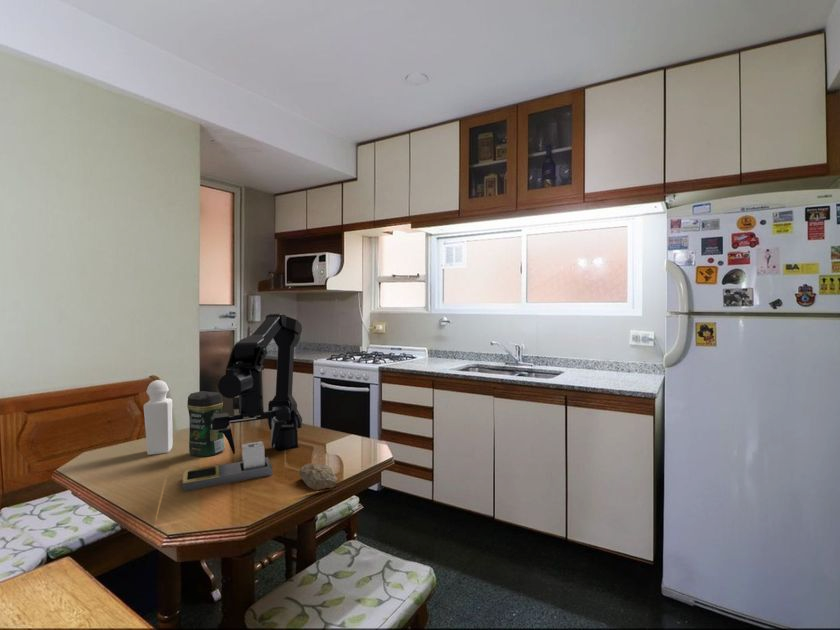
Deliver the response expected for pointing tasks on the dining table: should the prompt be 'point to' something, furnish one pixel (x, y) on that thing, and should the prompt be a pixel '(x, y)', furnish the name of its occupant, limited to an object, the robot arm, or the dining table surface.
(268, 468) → the grey socket board
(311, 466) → the rock
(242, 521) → the dining table surface
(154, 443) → the white bottle
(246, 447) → the square slider block
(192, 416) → the coffee jar
